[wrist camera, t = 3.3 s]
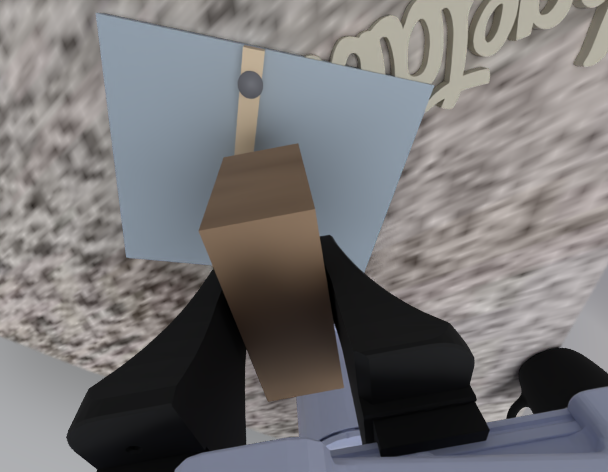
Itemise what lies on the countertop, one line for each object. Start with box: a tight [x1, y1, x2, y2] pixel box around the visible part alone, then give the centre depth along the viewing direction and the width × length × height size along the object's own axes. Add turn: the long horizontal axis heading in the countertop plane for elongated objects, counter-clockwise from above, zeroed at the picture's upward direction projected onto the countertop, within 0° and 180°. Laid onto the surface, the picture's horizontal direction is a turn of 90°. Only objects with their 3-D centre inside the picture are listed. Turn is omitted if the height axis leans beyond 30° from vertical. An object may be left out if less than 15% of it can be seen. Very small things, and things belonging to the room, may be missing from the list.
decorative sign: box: [304, 0, 608, 112], centre depth 17 cm, size 26×1×10 cm
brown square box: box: [199, 143, 344, 402], centre depth 13 cm, size 8×3×6 cm, turn 9°
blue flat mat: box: [96, 13, 434, 272], centre depth 20 cm, size 14×17×3 cm
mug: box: [506, 348, 608, 419], centre depth 33 cm, size 12×9×10 cm
